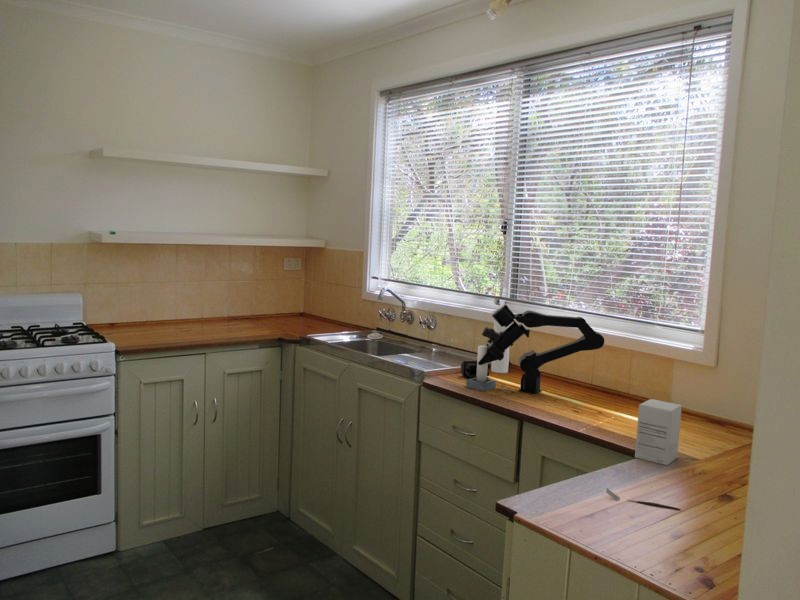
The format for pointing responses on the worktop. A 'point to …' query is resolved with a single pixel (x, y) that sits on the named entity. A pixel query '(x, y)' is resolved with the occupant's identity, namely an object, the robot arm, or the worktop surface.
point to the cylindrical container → (503, 364)
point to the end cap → (470, 369)
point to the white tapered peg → (481, 369)
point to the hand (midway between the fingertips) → (478, 363)
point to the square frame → (481, 384)
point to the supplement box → (658, 431)
